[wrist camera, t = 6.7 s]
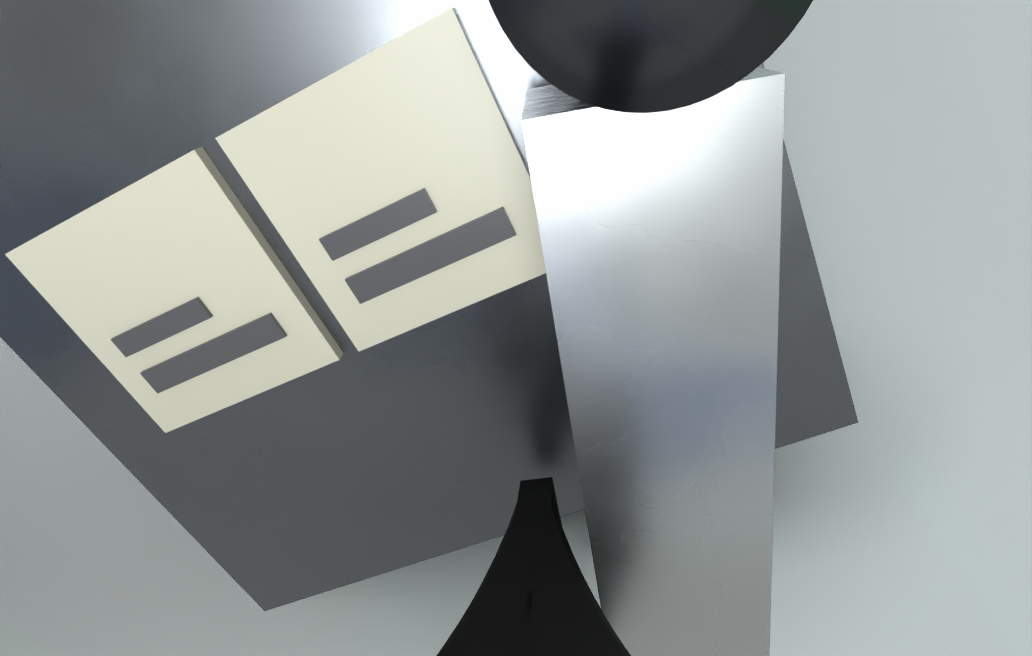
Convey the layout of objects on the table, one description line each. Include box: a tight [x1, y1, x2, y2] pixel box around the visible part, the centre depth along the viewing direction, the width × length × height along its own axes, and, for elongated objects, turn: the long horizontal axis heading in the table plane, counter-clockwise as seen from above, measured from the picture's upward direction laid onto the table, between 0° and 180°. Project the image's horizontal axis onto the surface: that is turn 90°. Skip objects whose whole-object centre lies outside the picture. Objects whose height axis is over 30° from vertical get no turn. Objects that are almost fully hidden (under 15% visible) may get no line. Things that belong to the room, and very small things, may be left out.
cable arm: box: [489, 0, 813, 656], centre depth 10 cm, size 16×3×5 cm, turn 10°
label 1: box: [5, 147, 343, 433], centre depth 13 cm, size 5×5×1 cm
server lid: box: [0, 0, 858, 611], centre depth 13 cm, size 17×16×1 cm
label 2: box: [215, 7, 546, 351], centre depth 12 cm, size 5×5×1 cm
